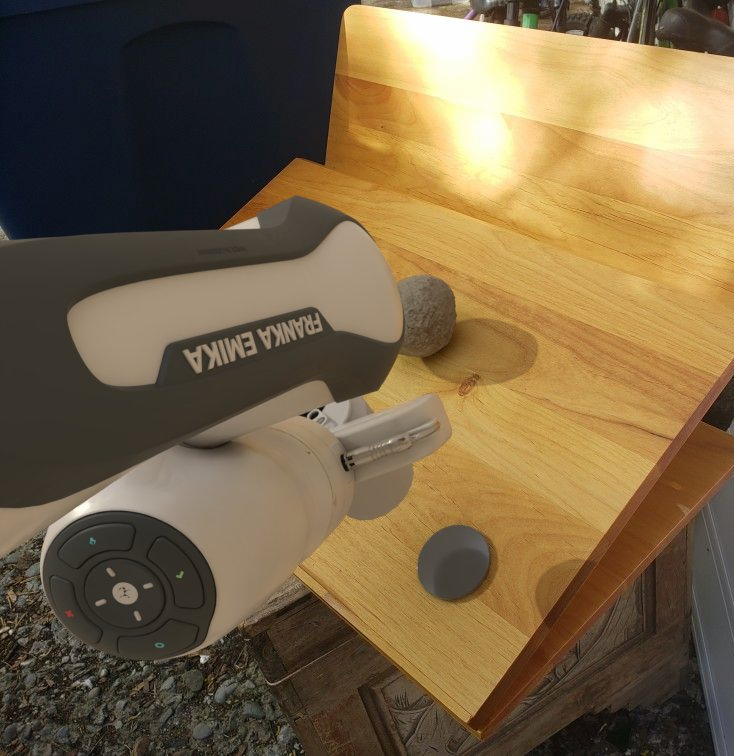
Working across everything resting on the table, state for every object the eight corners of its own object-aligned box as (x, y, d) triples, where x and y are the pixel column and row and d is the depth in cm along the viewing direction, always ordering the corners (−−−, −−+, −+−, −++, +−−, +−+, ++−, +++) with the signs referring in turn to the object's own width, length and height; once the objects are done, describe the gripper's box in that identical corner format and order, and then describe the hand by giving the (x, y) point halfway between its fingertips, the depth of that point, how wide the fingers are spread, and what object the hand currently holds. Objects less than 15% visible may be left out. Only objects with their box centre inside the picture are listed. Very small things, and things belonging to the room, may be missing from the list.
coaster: (473, 610, 64) (471, 608, 64) (406, 588, 68) (404, 586, 67) (502, 537, 68) (500, 534, 68) (437, 519, 71) (435, 517, 71)
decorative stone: (418, 384, 83) (385, 333, 76) (386, 349, 88) (351, 298, 81) (483, 334, 85) (456, 279, 77) (447, 302, 90) (419, 248, 83)
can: (389, 436, 64) (328, 358, 55) (433, 482, 60) (374, 406, 51) (326, 489, 63) (253, 419, 54) (366, 542, 58) (293, 474, 49)
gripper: (414, 384, 42) (446, 364, 55) (117, 492, 43) (220, 447, 57) (450, 480, 42) (473, 437, 56) (155, 582, 44) (248, 516, 58)
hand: (343, 442), depth 57 cm, fingers closed on can, 7 cm apart
